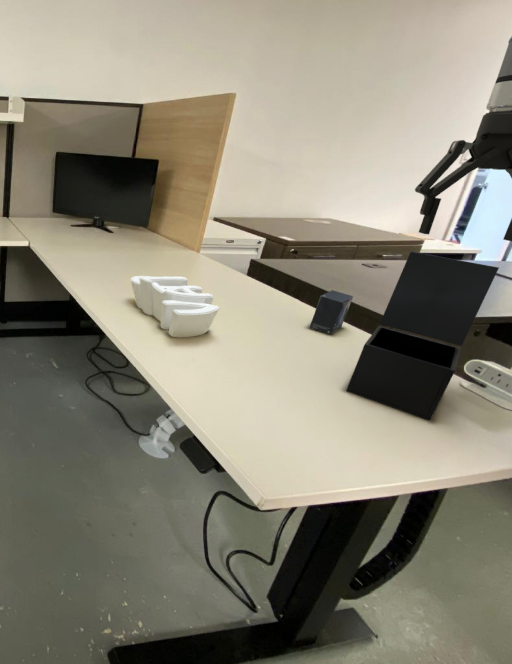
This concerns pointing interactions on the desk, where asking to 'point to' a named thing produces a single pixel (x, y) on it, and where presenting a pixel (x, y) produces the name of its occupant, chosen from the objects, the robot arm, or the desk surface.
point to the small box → (330, 312)
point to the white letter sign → (175, 304)
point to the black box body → (404, 371)
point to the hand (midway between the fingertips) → (465, 237)
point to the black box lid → (438, 297)
